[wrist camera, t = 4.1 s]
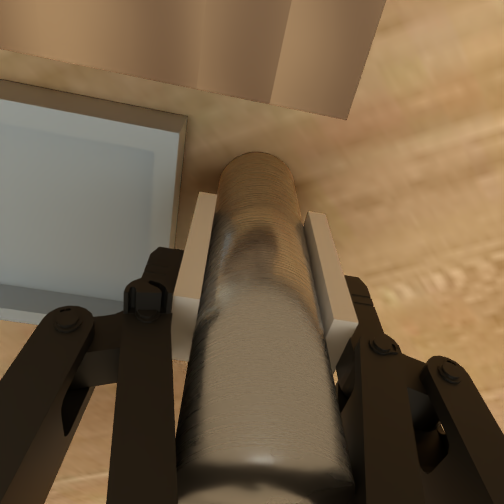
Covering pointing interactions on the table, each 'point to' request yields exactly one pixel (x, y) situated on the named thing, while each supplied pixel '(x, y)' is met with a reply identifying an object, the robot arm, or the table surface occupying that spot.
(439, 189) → the table surface
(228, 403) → the cylinder
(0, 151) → the tray
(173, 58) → the wooden peg board
